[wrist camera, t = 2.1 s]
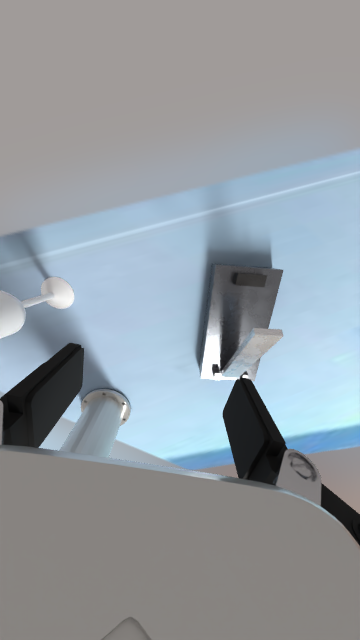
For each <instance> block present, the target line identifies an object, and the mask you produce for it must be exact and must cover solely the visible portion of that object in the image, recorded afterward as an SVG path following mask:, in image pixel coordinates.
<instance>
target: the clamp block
mask: <svg viewBox="0 0 360 640" xmlns="http://www.w3.org/2000/svg"><path fill="white" fill-rule="evenodd" d="M282 273H283V270H280V269H274V268H262V267H248V266H235V265H221V264H212V268H211V276H210V284H209V292H208V300H207V308H206V316H205V324H204V332H203V339H202V347H201V355H200V363H199V370H200V376H201V378H206V379H214V380H220V379H224V380H237V379H239V378H240V377H243V378H248V379H251V381H255V377H256V373H257V369H258V365H259V362H260V358H261V357H260V358H259V359H258V360H257V361H256V362H255V363H254V364H253V365H252V366H251V367H250V368H248V369H247V370H246V371H245V372H244V373H243V374H242V375H241V376H240V377H239V378H238V377H221V371H222V370H223V368H224V367H225V366H226V364H227V363H228V362H229V360H230V359H231V358H232V356H233V355H234V353H235V352H236V351H237V349H238V348H239V347H240V345H241V344H242V343H243V341H244V340H245V339H246V337H247V336H248V335H249V333H250V332H251V331H252V329H253V328H263V329H268V327H269V323H270V319H271V316H272V312H273V308H274V304H275V300H276V296H277V293H278V289H279V285H280V281H281V277H282Z"/></svg>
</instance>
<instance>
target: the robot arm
mask: <svg viewBox="0 0 360 640" xmlns="http://www.w3.org/2000/svg"><path fill="white" fill-rule="evenodd" d="M83 359H84V348H81V345H79V344H74V343H69V344H67V345H66V346H65V347H64V348H62V349H61V350H60V351H59V352H58V353H56V354H55V355H54V356H53V357H51V358H50V359H49V360H48V361H47V362H45V363H43V364H42V365H40V366H39V367H38V368H37V369H36V370H34V371H33V372H32V373H31V374H29V375H28V376H27V377H26V378H25V379H23V380H22V381H21V382H20V383H18V384H17V385H16V386H15V387H13V388H12V389H11V390H10V391H9V392H7V393H6V394H5V395H4V396H2V397H1V398H0V640H360V514H358V513H357V512H356V511H355V510H354V509H352V508H351V507H350V506H349V505H347V504H346V503H345V502H344V501H343V500H341V499H340V498H339V497H338V496H337V495H335V494H334V493H333V492H332V491H330V490H329V489H328V488H327V487H326V486H324V485H323V484H322V483H321V475H320V473H319V471H318V469H317V468H316V466H315V465H314V464H313V463H312V461H311V460H310V459H309V458H307V457H306V456H305V455H304V454H302V453H301V452H299V451H297V450H294V449H287V447H286V445H285V441H284V439H283V437H282V435H281V434H280V432H279V430H278V428H277V426H276V424H275V423H274V421H273V419H272V417H271V415H270V414H269V412H268V410H267V408H266V406H265V404H264V403H263V401H262V399H261V397H260V395H259V394H258V392H257V390H256V388H255V386H254V384H253V383H252V381H251V379H248V378H243V377H240V378H239V379H237V380H236V382H235V384H234V386H233V389H232V391H231V393H230V396H229V398H228V400H227V403H226V405H225V407H224V410H223V419H224V423H225V427H226V431H227V435H228V439H229V442H230V446H231V450H232V454H233V458H234V462H235V466H236V470H237V474H238V477H239V478H234V477H228V476H222V475H216V474H210V473H203V472H197V471H191V470H185V469H178V468H171V467H165V466H159V465H152V464H146V463H139V462H133V461H126V460H120V459H112V458H109V456H110V452H111V450H112V447H113V444H114V441H115V438H116V435H117V432H118V429H119V427H120V426H121V425H123V424H124V423H125V422H126V421H127V420H128V418H129V416H130V412H131V407H130V404H129V402H128V400H127V399H126V398H125V397H124V396H123V395H122V394H120V393H118V392H116V391H114V390H110V389H97V390H94V391H91V392H90V393H88V394H87V395H86V396H85V397H84V399H83V401H82V403H81V411H82V414H81V416H80V418H79V419H78V421H77V422H76V424H75V426H74V427H73V429H72V431H71V432H70V434H69V436H68V437H67V439H66V441H65V442H64V444H63V446H62V447H61V449H60V450H59V451H57V450H50V449H42V448H38V447H39V446H40V445H41V444H42V442H43V441H44V440H45V438H46V437H47V435H48V434H49V433H50V431H51V430H52V429H53V427H54V426H55V424H56V423H57V422H58V420H59V419H60V417H61V416H62V415H63V413H64V412H65V411H66V409H67V408H68V406H69V405H70V404H71V402H72V401H73V399H74V398H75V397H76V395H77V394H78V393H79V391H80V389H81V387H82V379H83Z"/></svg>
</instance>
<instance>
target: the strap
mask: <svg viewBox="0 0 360 640" xmlns="http://www.w3.org/2000/svg"><path fill="white" fill-rule="evenodd" d="M282 337H283V333H282V330H279V329H263V328H253V329H252V331H251V332H250V333H249V335H248V336H247V337H246V339H245V340H244V341H243V343H242V344H241V345H240V347H239V348H238V349H237V351H236V352H235V353H234V355H233V356H232V358H231V359H230V360H229V362H228V363H227V364H226V366H225V367H224V368H223V370H222V371H221V377H238V378H239V377H240V376H241V375H242V374H243V373H244V372H245V371H246V370H247V369H248V368H250V367H251V366H252V365H253V364H254V363H255V362H256V361H257V360H258V359H259V358H260V357H261V356H263V355H264V354H265V353H266V352H267V351H268V350H269V349H270V348H271V347H272V346H273V345H274V344H276V343H277V342H278V341H279V340H280V339H281V338H282Z"/></svg>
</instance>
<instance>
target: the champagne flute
mask: <svg viewBox="0 0 360 640" xmlns="http://www.w3.org/2000/svg"><path fill="white" fill-rule="evenodd" d="M41 294H42V295H40V296H37V297H34V298H30V299H27V300H24V301H20V300H19V299H17V298H16V297H15V296H13V295H11V294H9V293H7V292H4V291H1V290H0V339H1V338H3V337H6V336H9V335H12V334H14V333H16V332H17V331H19V330H20V329H21V328H22V326H23V324H24V322H25V319H26V311H25V308H27V307H30V306H32V305H35V304H38V303H41V302H44V301H46V302H47V303H48V304H49V305H51V306H52V307H54V308H58V309H65V308H68V307H69V306H71V305H72V303H73V301H74V292H73V289H72V288H71V286H70V285H69V284H68V283H67V282H66V281H65V280H63V279H61V278H58V277H50V278H47V279H46V280H45V281H44V282H43V283H42V286H41Z"/></svg>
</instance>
